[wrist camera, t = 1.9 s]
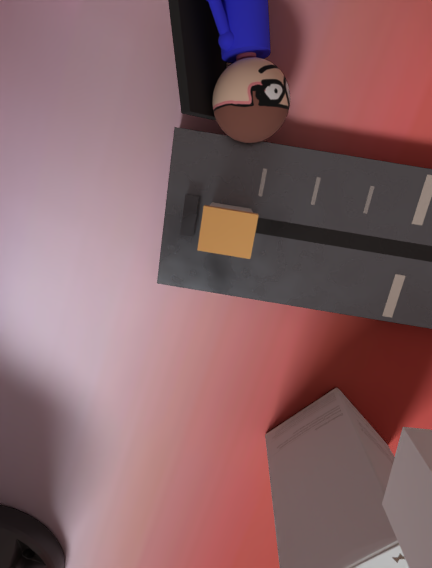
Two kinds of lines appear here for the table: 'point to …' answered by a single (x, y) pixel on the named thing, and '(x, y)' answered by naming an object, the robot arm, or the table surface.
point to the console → (303, 228)
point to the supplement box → (331, 489)
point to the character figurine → (235, 78)
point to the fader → (227, 230)
